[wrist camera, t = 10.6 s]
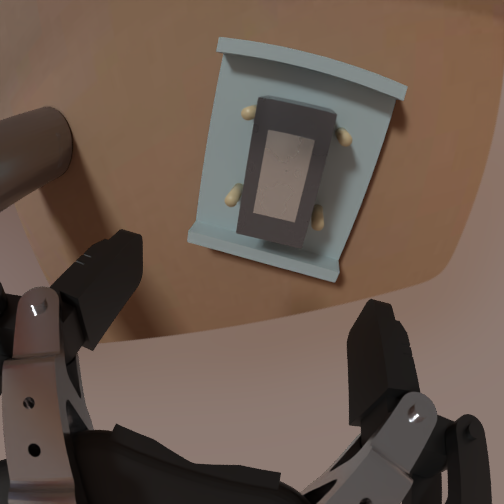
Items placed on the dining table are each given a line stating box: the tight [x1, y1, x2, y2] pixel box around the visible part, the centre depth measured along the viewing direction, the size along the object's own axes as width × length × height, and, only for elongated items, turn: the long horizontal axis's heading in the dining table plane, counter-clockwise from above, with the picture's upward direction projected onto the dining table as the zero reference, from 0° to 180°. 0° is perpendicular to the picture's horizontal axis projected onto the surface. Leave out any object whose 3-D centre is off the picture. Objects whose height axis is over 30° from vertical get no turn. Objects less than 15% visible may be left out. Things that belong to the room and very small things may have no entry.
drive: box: [236, 95, 337, 249], centre depth 22 cm, size 10×5×5 cm, turn 171°
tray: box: [187, 37, 407, 283], centre depth 23 cm, size 14×18×4 cm
